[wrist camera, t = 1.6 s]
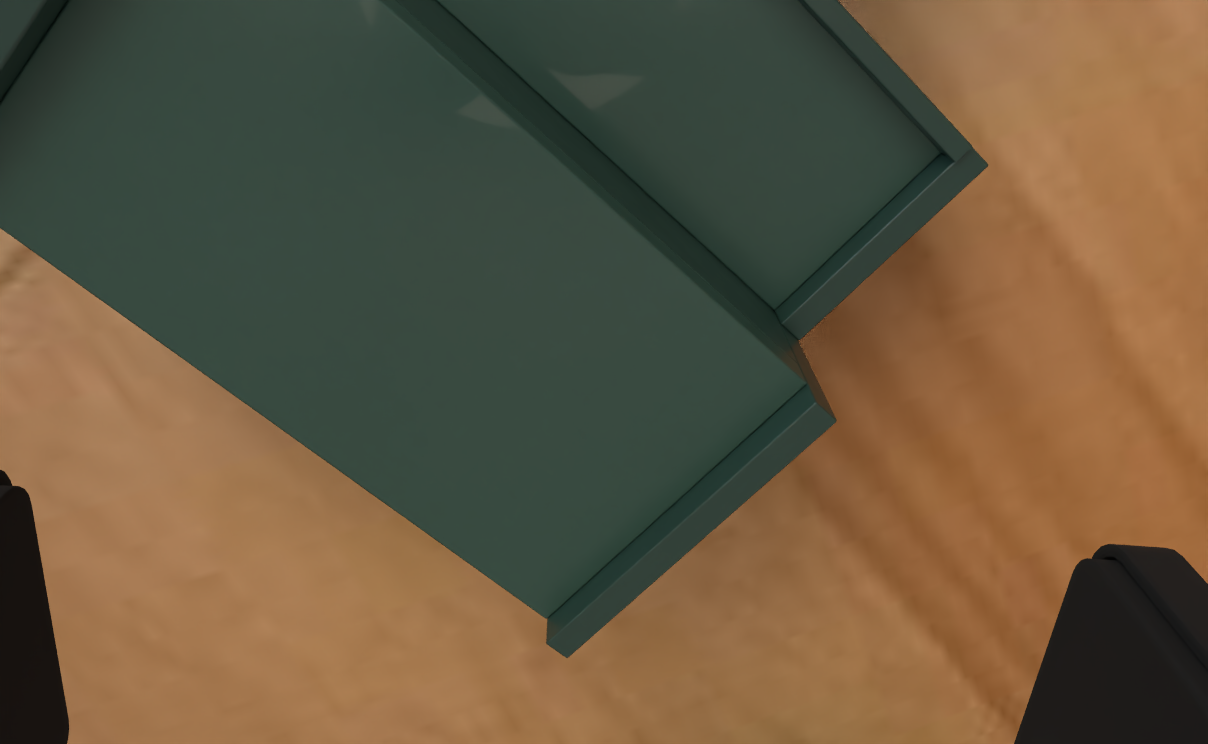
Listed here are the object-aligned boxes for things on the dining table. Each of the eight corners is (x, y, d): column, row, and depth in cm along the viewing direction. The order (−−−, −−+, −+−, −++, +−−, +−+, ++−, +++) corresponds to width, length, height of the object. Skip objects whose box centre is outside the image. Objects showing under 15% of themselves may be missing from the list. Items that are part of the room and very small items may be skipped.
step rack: (440, -393, 27) (354, -567, 17) (922, 121, 33) (1070, 217, 23) (100, 89, 32) (-119, 175, 22) (571, 459, 38) (567, 659, 28)
